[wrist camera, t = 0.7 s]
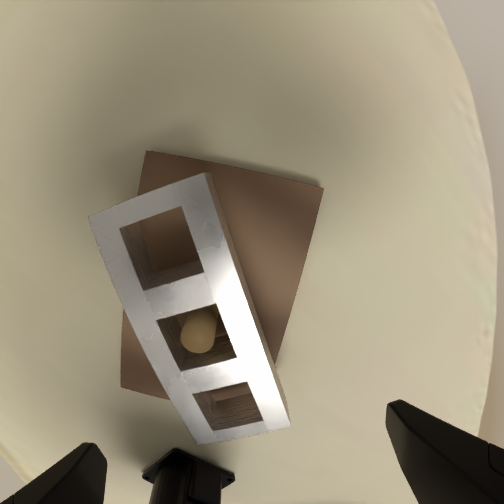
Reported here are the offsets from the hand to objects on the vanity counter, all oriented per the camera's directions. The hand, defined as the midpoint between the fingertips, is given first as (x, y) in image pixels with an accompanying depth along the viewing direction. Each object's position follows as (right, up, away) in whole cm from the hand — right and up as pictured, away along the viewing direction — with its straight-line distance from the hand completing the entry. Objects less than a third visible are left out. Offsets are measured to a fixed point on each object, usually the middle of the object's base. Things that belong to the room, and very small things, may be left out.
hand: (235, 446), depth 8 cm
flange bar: (-2, +2, +9) cm, 10 cm away
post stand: (-2, +3, +12) cm, 12 cm away
